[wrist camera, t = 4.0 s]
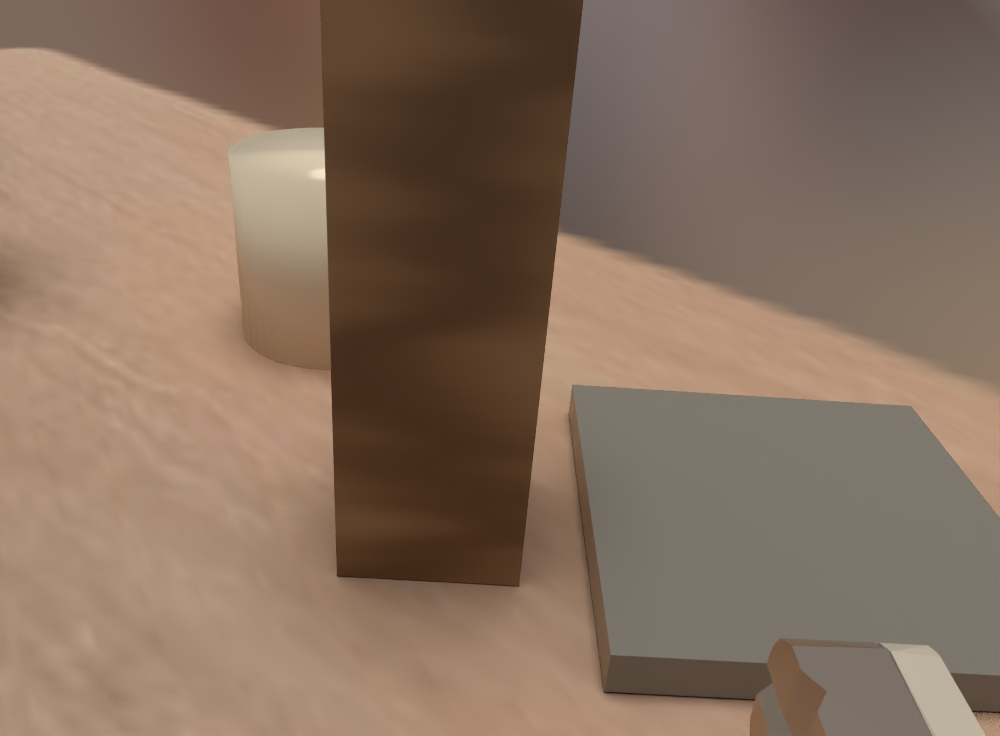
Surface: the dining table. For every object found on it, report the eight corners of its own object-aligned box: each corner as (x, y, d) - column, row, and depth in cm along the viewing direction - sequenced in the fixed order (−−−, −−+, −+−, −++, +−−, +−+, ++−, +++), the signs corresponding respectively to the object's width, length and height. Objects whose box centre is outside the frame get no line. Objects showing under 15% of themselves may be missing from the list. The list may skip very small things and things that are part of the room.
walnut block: (337, 575, 19) (319, -23, 13) (362, 467, 22) (358, -42, 16) (518, 586, 19) (584, -3, 13) (516, 476, 22) (566, -25, 16)
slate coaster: (603, 691, 16) (611, 655, 16) (568, 414, 25) (572, 384, 25) (1108, 717, 17) (1130, 682, 16) (900, 434, 25) (911, 406, 25)
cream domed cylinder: (204, 329, 28) (184, 149, 25) (332, 276, 33) (327, 118, 30) (337, 391, 25) (332, 197, 23) (457, 324, 30) (466, 155, 27)
